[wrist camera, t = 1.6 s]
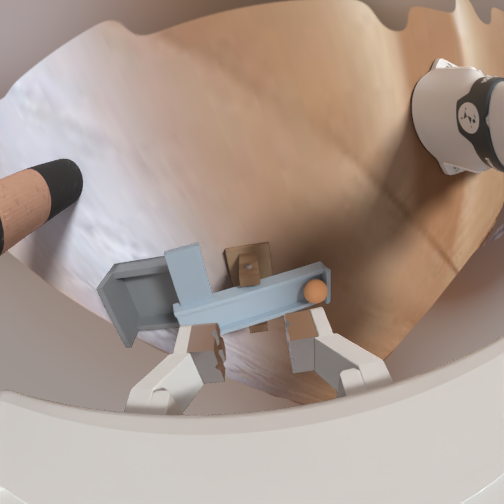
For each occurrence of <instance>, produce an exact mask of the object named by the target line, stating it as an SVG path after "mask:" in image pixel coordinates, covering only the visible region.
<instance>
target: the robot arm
mask: <svg viewBox="0 0 504 504" xmlns="http://www.w3.org/2000/svg"><path fill="white" fill-rule="evenodd" d="M412 116H413V122H414V126H415V129H416V132H417V134H418V136H419V138H420V140H421V142H422V144H423V145H424V146H425V148H426V149H427V150H428V151H429V152H430V153H431V154H432V155H433V156H434V157H435V158H436V159H437V160H438V162H439V164H440V166H441V169H442V170H443V172H444V173H445V174H447V175H454V174H457V173H460V172H463V171H466V170H467V171H471V172H474V173H478V174H480V173H481V172H482V171H486V170H488V169H490V168H494V169H495V170H497V171H500V172H503V173H504V78H501V77H497V76H489V75H485V74H482V71H480V70H476V69H475V68H473V67H458V66H456V65H454V64H452V63H450V62H448V61H446V60H444V59H436V60H435V61H434V63H433V65H432V68H431V70H430V71H429V72H428V73H427V74H426V75H424V76H423V77H422V78H421V79H420V80H419V82H418V83H417V85H416V87H415V90H414V93H413V98H412ZM284 320H285V326H286V338H287V346H288V351H289V353H290V362H291V367H292V372H293V373H299V372H306V371H312V370H315V372H316V373H317V374H318V375H319V376H321V377H322V378H323V379H324V380H325V381H326V382H327V383H328V384H329V385H331V386H332V387H333V388H334V389H335V390H336V391H337V398H336V399H332V400H327V401H322V402H317V403H312V404H306V405H301V406H295V407H288V408H281V409H274V410H266V411H257V412H247V413H234V414H217V415H183V412H184V411H185V409H186V408H187V407H188V405H189V404H190V403H191V401H192V400H193V399H194V397H195V396H196V394H197V393H198V392H199V391H200V389H201V388H202V386H203V385H204V383H216V382H224V381H225V367H224V364H223V363H224V362H225V360H226V353H225V345H224V341H223V338H222V337H220V327H219V324H218V323H206V324H193V325H182V326H180V328H179V331H178V335H177V339H176V343H175V347H174V351H173V354H169V355H168V356H167V357H166V358H165V359H164V360H163V361H161V362H160V363H159V364H158V365H157V366H156V367H155V368H154V369H153V370H152V371H150V372H149V373H148V374H147V375H146V376H145V377H144V378H143V379H142V380H141V381H139V382H138V383H137V384H136V385H135V386H134V387H133V388H132V389H131V391H130V394H129V397H128V401H127V404H126V407H125V410H124V412H115V411H106V410H98V409H91V408H84V407H79V406H73V405H67V404H62V403H58V402H53V401H49V400H44V399H40V398H36V397H32V396H28V395H25V394H21V393H18V392H15V391H12V390H3V391H2V392H0V504H504V336H502V337H500V338H498V339H496V340H495V341H493V342H491V343H489V344H487V345H485V346H483V347H481V348H479V349H477V350H475V351H473V352H471V353H469V354H467V355H465V356H463V357H460V358H458V359H456V360H454V361H452V362H449V363H447V364H444V365H442V366H439V367H437V368H434V369H432V370H429V371H427V372H424V373H421V374H419V375H416V376H413V377H411V378H407V379H404V380H401V381H398V382H395V383H393V381H392V379H391V377H390V375H389V372H388V370H387V368H386V366H385V364H384V362H383V360H382V359H380V358H378V357H377V356H375V355H373V354H371V353H370V352H368V351H366V350H365V349H363V348H361V347H359V346H358V345H356V344H354V343H353V342H351V341H349V340H348V339H346V338H344V337H343V336H341V335H339V334H338V333H335V334H333V332H332V329H331V327H330V324H329V322H328V319H327V317H326V314H325V312H324V309H323V308H322V307H318V308H313V309H309V310H303V311H298V312H292V313H285V314H284Z"/></svg>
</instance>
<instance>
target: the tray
mask: <svg viewBox="0 0 504 504" xmlns="http://www.w3.org/2000/svg"><path fill="white" fill-rule="evenodd" d="M97 291H98V293H99V296H100V298H101V300H102V302H103V304H104V306H105V308H106V310H107V312H108V314H109V316H110V318H111V320H112V322H113V324H114V326H115V328H116V330H117V332H118V334H119V335H120V337H121V339H122V341H123V343H124V344H125V346H126V347H132V345H133V342H134V340H135V337H136V335H137V332H138V331H139V330H154V329H167V328H179V327H180V324H179V322H178V319H177V317H175V315H174V309H173V304H175V303H179V302H180V301H179V298H178V296H177V293H176V290H175V287H174V284H173V281H172V278H171V275H170V271H169V268H168V265H167V262H166V259H165V256H161V257H155V258H149V259H143V260H136V261H130V262H124V263H118V264H114V265H113V267H112V268H111V269H110V271H109V272H108V273H107V275H106V276H105V277H104V279H103V280H102V282H101V283H100V284H99V286H98V287H97Z"/></svg>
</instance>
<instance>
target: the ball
mask: <svg viewBox="0 0 504 504" xmlns="http://www.w3.org/2000/svg"><path fill="white" fill-rule="evenodd" d="M303 293H304V297H305V298H306V300H307V301H309V302H310V303H314V304H317V303H320V302H322V301H324V300H325V298H326V297H327V293H328V289H327V286H326V284H325V283H324V282H323V281H321V280H319V279H313V280H310V281H309V282H307V283H306V285H305V287H304V290H303Z"/></svg>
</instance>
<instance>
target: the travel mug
mask: <svg viewBox="0 0 504 504" xmlns="http://www.w3.org/2000/svg"><path fill="white" fill-rule="evenodd" d="M82 187H83V179H82V174H81V171H80V169H79V168H78V166H77V165H76V164H75V163H74V162H73V161H71V160H69V159H59V160H55V161H51V162H48V163H44V164H41V165H37V166H34V167H31V168H27V169H24V170H22V171H19V172H17V173H14V174H12V175H10V176H7V177H5V178H3V179H0V256H1V255H2V254H3V253H5V252H6V251H7V250H8V249H10V248H11V247H12V246H14V245H15V244H16V243H18V242H19V241H20V240H22V239H23V238H25V237H26V236H27V235H29V234H30V233H32V232H33V231H35V230H36V229H37V228H39V227H40V226H42V225H43V224H45V223H46V222H47V221H49V220H50V219H51V218H53V217H54V216H55V215H57V214H58V213H60V212H61V211H62V210H64V209H65V208H67V207H68V206H70V205H71V204H72V203H74V202H75V201H76V200H77V199H78V197H79V196H80V194H81V191H82Z"/></svg>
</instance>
